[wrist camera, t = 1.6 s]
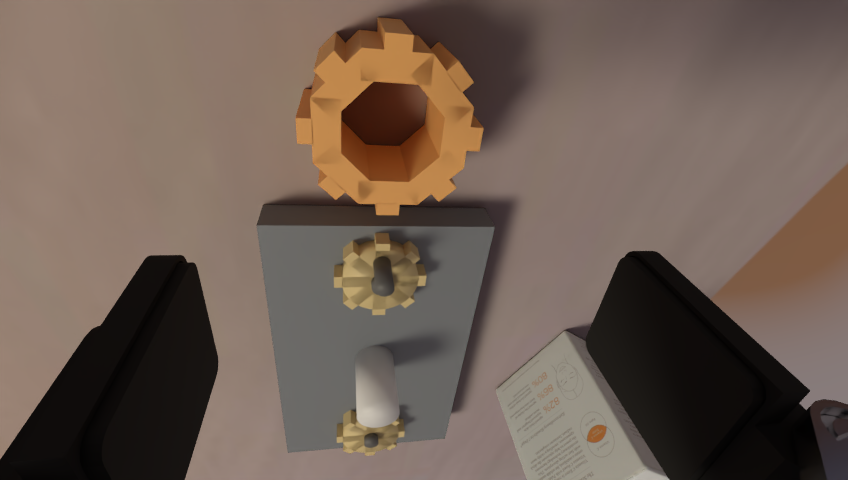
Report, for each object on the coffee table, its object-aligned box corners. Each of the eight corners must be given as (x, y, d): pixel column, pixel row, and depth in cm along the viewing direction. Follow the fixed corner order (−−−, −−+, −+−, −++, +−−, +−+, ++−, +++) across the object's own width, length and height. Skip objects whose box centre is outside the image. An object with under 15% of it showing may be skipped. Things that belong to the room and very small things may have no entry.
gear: (300, 9, 17) (289, 23, 14) (472, 26, 18) (500, 42, 15) (308, 173, 21) (301, 214, 18) (449, 177, 22) (466, 216, 19)
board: (263, 204, 22) (239, 278, 17) (484, 208, 24) (520, 274, 19) (290, 427, 33) (281, 511, 28) (440, 415, 35) (455, 491, 30)
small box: (537, 406, 37) (597, 545, 28) (492, 388, 34) (542, 535, 25) (608, 350, 34) (699, 487, 25) (565, 326, 31) (649, 470, 22)
